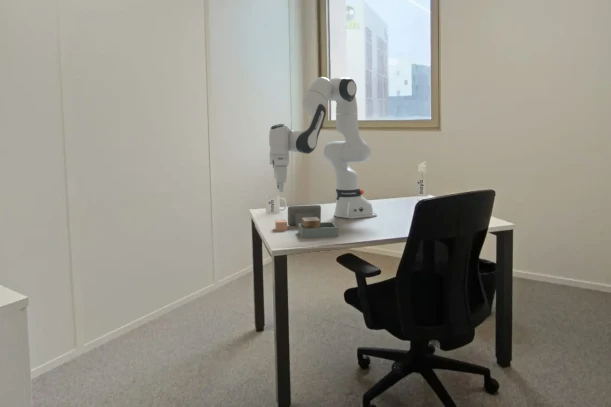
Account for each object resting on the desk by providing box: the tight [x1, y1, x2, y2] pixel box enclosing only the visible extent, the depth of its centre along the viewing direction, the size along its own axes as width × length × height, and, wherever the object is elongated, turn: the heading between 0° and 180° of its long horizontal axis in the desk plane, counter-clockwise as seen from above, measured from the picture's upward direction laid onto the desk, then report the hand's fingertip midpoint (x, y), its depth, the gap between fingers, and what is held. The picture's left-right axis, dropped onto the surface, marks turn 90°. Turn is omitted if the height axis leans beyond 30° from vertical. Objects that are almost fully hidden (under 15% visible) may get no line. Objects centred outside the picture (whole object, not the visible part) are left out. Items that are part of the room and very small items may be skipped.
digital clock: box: [287, 204, 322, 227], centre depth 273 cm, size 16×9×11 cm, turn 83°
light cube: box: [274, 219, 288, 232], centre depth 265 cm, size 5×5×5 cm
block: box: [302, 217, 320, 229], centre depth 252 cm, size 7×8×7 cm
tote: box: [297, 221, 339, 239], centre depth 253 cm, size 16×12×5 cm
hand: (280, 190), depth 262 cm, fingers open, 8 cm apart
